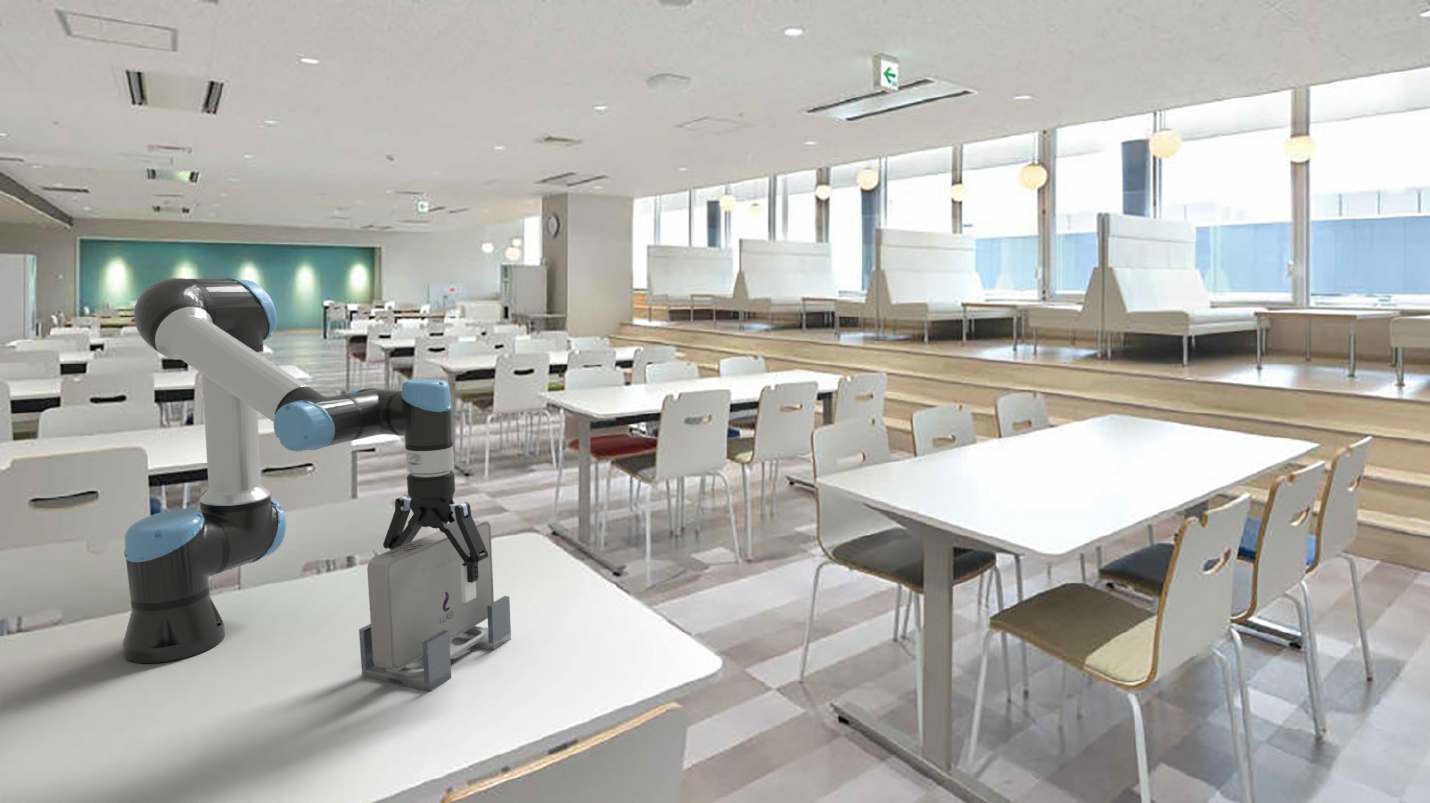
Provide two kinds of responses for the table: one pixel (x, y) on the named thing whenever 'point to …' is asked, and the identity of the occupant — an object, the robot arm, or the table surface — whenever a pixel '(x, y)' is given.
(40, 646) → the table surface
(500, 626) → the stand
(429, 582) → the network device
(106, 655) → the table surface
